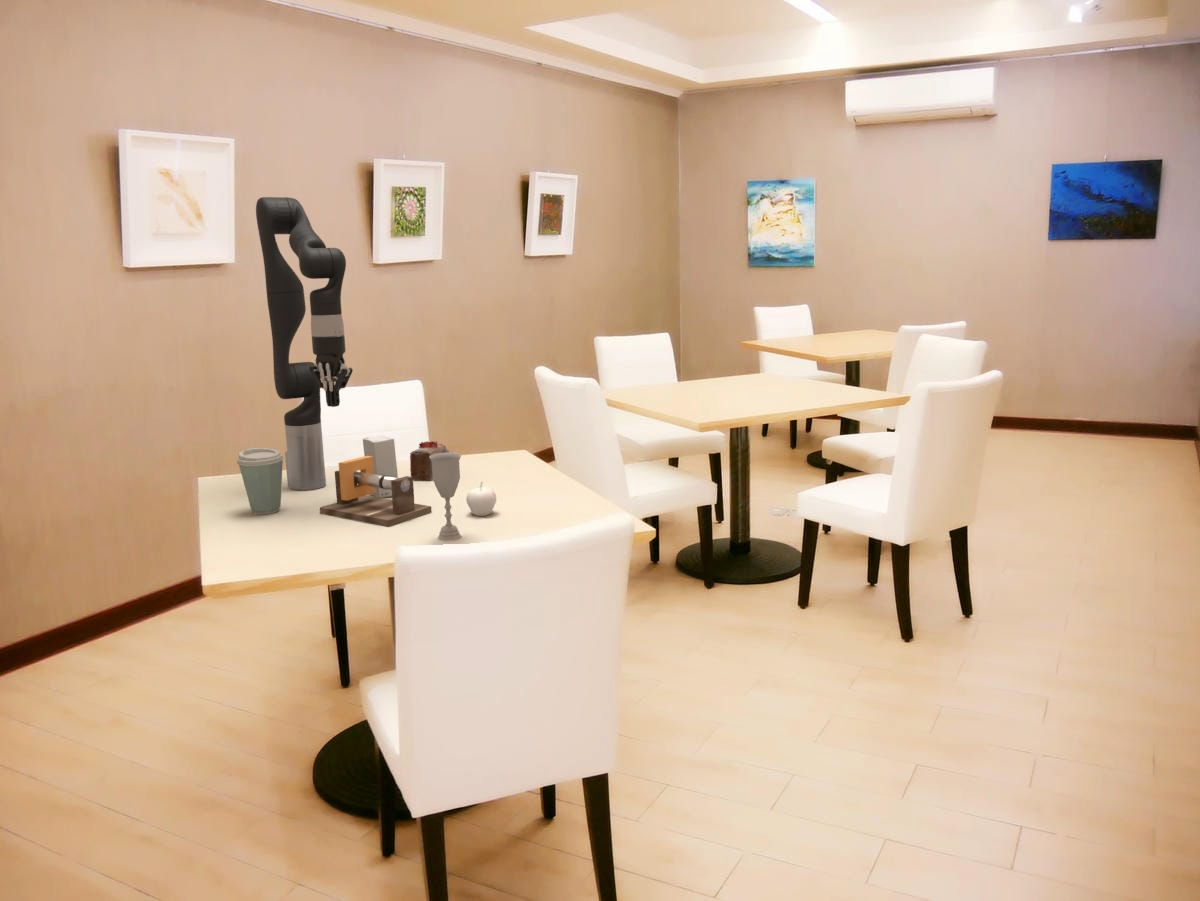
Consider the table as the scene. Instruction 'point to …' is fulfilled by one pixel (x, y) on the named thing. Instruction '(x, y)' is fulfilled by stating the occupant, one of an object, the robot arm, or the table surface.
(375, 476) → the pipe
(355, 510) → the pipe stand
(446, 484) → the chalice
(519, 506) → the table surface
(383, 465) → the skincare box
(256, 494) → the disposable coffee cup
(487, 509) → the plain white apple
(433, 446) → the food item
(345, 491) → the square ring
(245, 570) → the table surface
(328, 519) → the table surface
